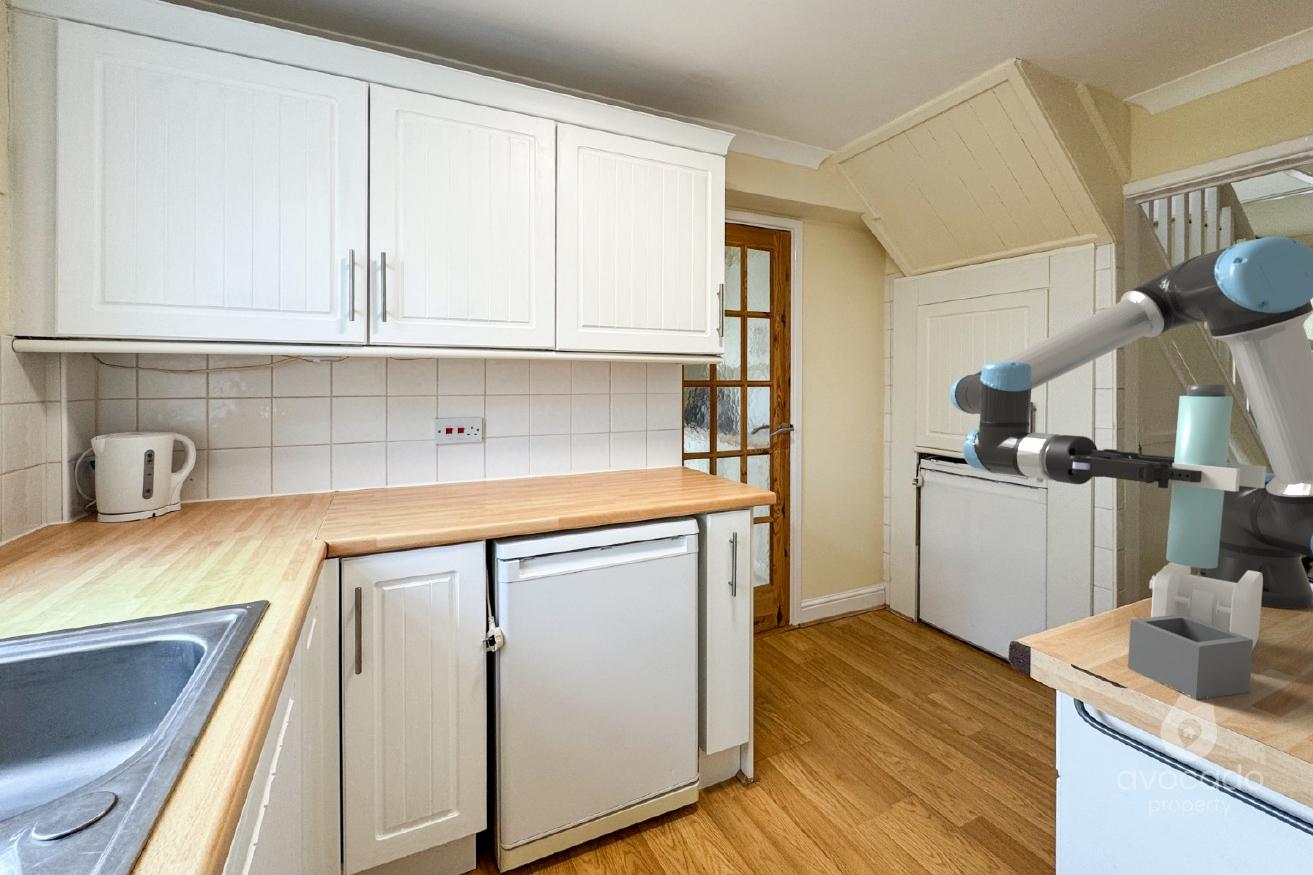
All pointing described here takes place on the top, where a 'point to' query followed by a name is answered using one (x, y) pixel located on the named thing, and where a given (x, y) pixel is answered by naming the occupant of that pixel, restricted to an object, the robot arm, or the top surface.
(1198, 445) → the teal bottle
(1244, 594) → the white piece
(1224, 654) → the block
